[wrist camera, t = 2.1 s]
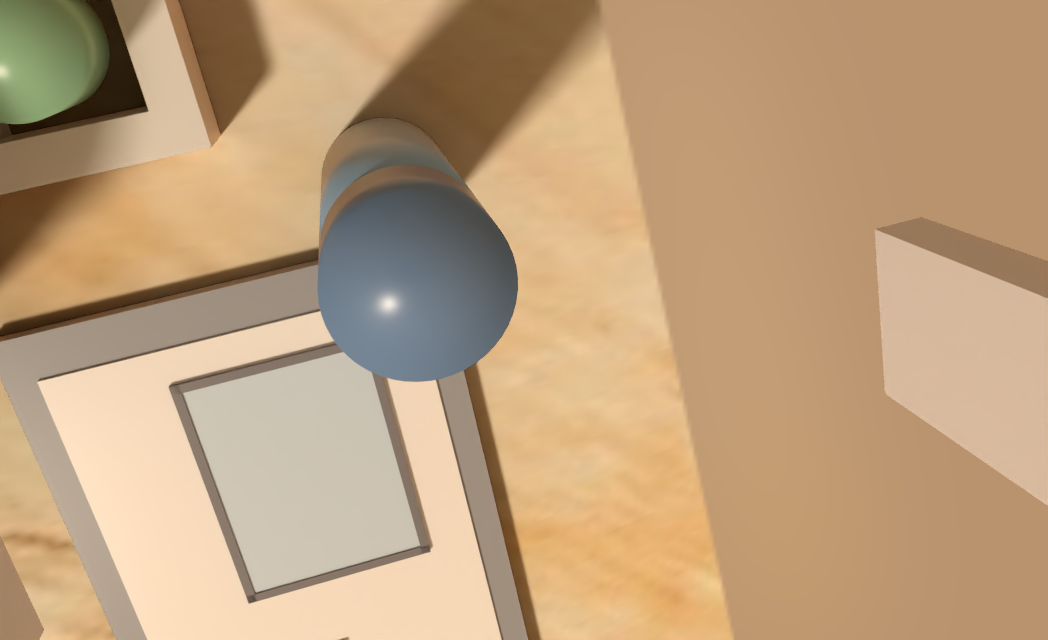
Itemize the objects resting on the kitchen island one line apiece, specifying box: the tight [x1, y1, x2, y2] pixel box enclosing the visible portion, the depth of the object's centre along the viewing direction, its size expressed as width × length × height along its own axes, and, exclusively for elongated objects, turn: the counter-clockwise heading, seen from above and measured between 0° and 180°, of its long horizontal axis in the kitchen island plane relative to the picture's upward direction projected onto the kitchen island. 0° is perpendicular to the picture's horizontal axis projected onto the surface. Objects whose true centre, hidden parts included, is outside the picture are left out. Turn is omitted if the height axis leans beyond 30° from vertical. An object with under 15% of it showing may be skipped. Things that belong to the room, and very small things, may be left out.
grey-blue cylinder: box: [317, 117, 518, 382], centre depth 24 cm, size 4×4×12 cm
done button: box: [0, 0, 110, 124], centre depth 23 cm, size 3×3×3 cm
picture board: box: [0, 260, 528, 640], centre depth 33 cm, size 24×14×1 cm, turn 11°
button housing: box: [0, 0, 221, 195], centre depth 25 cm, size 7×7×2 cm
